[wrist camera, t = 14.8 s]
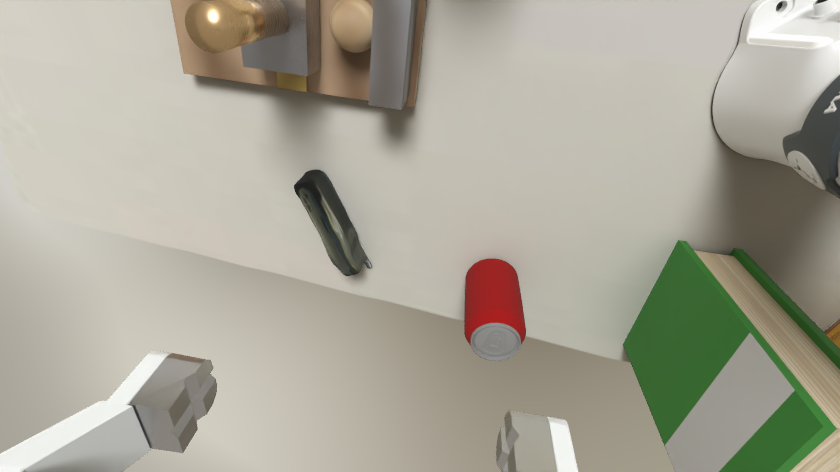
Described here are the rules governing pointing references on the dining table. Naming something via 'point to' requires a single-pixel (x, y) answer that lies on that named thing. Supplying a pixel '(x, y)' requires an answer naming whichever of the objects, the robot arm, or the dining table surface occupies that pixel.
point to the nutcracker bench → (335, 53)
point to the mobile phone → (331, 222)
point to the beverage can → (493, 310)
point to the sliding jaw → (260, 32)
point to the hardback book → (735, 369)
